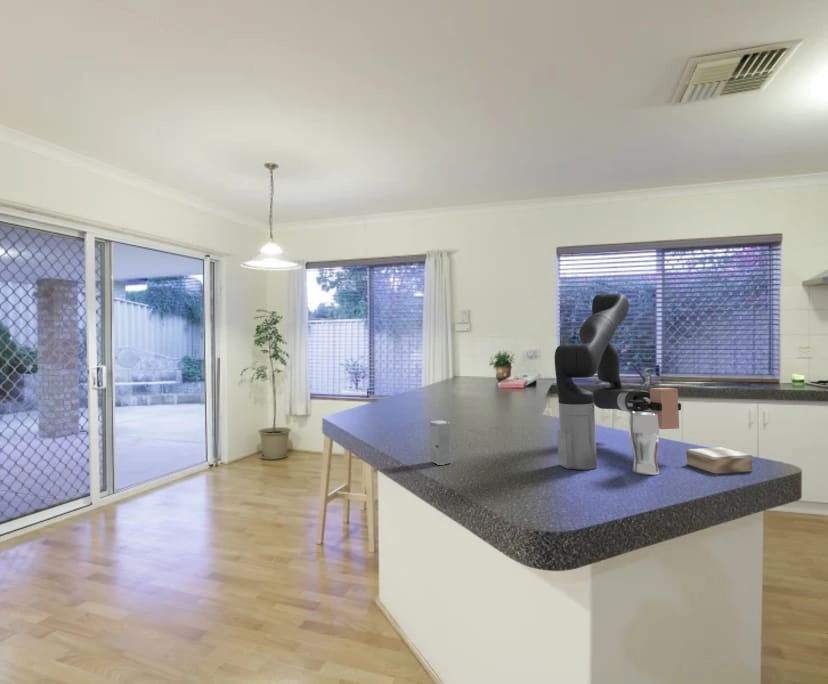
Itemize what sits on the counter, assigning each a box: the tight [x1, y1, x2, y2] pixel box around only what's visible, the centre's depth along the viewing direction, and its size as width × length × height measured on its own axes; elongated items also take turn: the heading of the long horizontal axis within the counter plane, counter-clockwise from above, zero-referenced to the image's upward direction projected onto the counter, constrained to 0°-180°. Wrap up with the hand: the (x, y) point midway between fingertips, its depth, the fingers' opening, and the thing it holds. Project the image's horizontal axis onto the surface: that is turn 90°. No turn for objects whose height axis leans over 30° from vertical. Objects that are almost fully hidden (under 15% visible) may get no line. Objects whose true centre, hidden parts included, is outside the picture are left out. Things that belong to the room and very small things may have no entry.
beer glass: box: [628, 412, 660, 476], centre depth 119 cm, size 7×7×15 cm
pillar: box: [649, 387, 680, 430], centre depth 133 cm, size 5×5×11 cm
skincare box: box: [429, 419, 452, 464], centre depth 137 cm, size 6×4×12 cm
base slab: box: [686, 446, 753, 474], centre depth 121 cm, size 10×10×4 cm
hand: (670, 406), depth 130 cm, fingers closed on pillar, 5 cm apart
